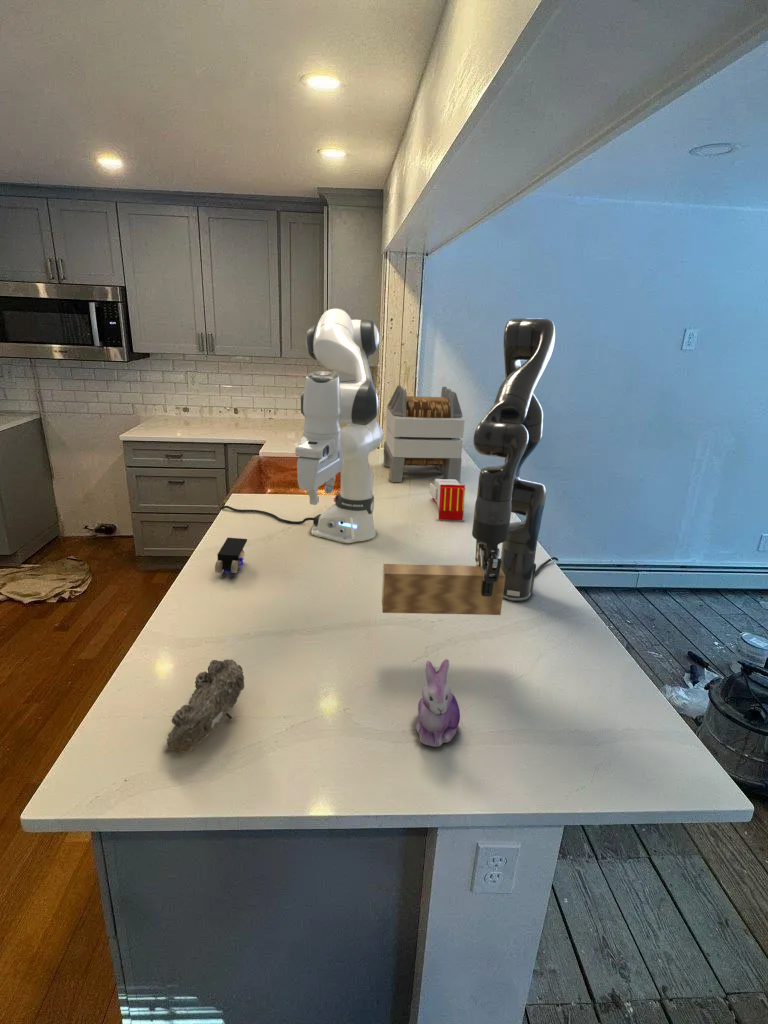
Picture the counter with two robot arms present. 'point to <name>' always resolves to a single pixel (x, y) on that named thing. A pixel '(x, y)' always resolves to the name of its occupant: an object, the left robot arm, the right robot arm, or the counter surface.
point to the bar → (439, 590)
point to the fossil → (206, 705)
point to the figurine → (437, 708)
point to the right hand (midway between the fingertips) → (483, 589)
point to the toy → (448, 498)
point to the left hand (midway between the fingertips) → (321, 498)
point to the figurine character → (230, 556)
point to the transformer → (424, 433)
